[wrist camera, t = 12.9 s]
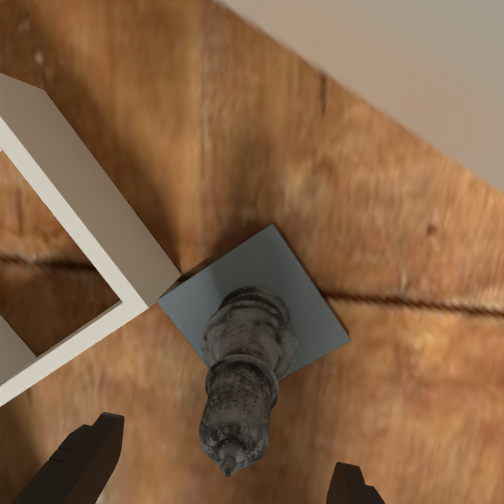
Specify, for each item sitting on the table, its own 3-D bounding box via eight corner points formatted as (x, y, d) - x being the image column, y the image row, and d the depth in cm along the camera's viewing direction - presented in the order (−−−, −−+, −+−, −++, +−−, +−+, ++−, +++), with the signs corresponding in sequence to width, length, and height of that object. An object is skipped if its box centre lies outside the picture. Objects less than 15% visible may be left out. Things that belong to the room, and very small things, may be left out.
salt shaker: (245, 265, 21) (208, 367, 10) (312, 316, 22) (352, 472, 10) (196, 325, 23) (112, 479, 11) (260, 372, 23) (243, 568, 12)
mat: (349, 337, 23) (351, 340, 22) (236, 399, 24) (236, 404, 24) (272, 222, 21) (272, 223, 21) (159, 298, 23) (156, 300, 23)
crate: (181, 275, 22) (149, 307, 17) (36, 372, 25) (-36, 430, 19) (44, 90, 20) (-49, 53, 15) (-98, 218, 23) (-224, 231, 17)
